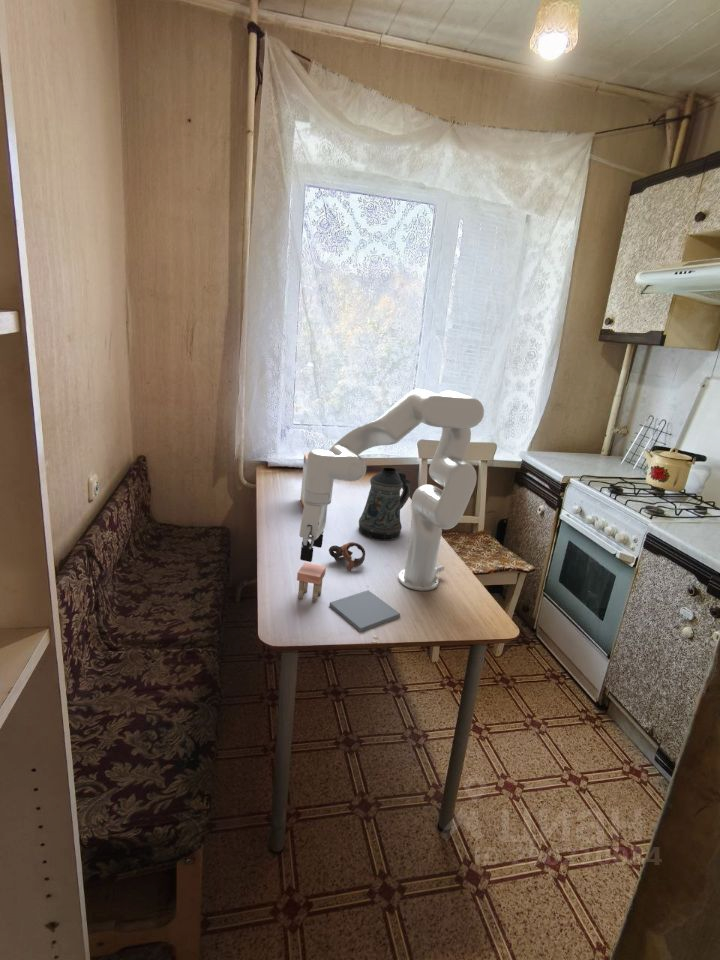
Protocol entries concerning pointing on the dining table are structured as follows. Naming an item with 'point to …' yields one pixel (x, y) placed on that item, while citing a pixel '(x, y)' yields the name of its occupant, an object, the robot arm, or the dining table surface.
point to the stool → (310, 579)
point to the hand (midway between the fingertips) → (311, 553)
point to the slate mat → (364, 610)
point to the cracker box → (303, 478)
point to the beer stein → (384, 505)
